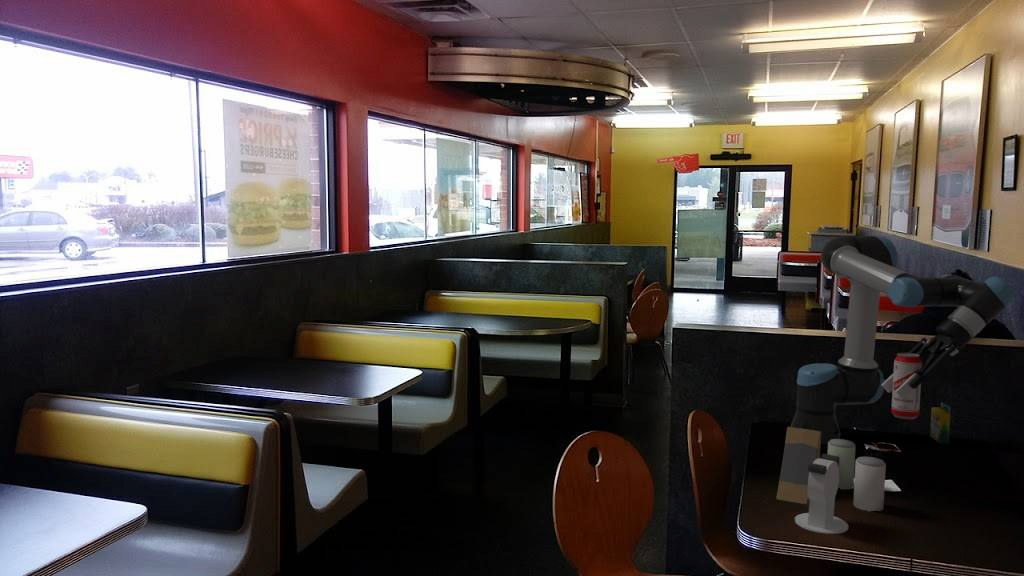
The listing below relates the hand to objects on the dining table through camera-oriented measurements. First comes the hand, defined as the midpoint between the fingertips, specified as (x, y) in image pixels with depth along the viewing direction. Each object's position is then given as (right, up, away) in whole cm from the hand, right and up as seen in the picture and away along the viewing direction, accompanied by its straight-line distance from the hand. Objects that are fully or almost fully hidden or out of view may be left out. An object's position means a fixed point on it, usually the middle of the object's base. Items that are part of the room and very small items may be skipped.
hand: (892, 391), depth 192 cm
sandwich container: (-23, -26, +2) cm, 35 cm away
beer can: (+4, -7, +1) cm, 8 cm away
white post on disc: (-25, -28, -17) cm, 41 cm away
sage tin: (-10, -26, +8) cm, 29 cm away
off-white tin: (-9, -27, -7) cm, 29 cm away
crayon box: (+40, -22, +50) cm, 67 cm away
